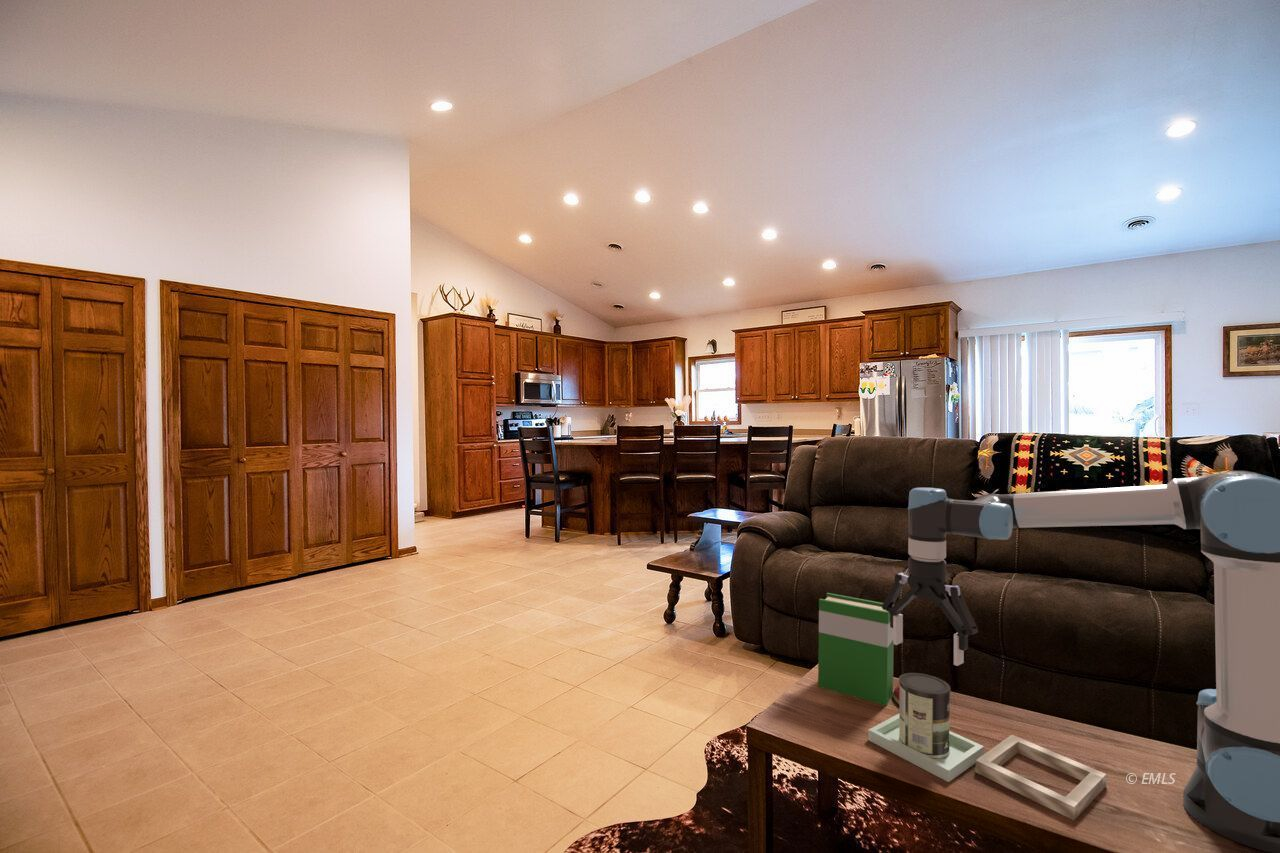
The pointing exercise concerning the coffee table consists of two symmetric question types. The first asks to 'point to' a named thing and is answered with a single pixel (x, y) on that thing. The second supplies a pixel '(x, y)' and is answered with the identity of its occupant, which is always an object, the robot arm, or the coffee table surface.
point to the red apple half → (897, 694)
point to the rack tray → (945, 768)
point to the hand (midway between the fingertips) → (927, 653)
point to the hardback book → (855, 648)
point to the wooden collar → (1066, 806)
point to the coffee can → (924, 714)
